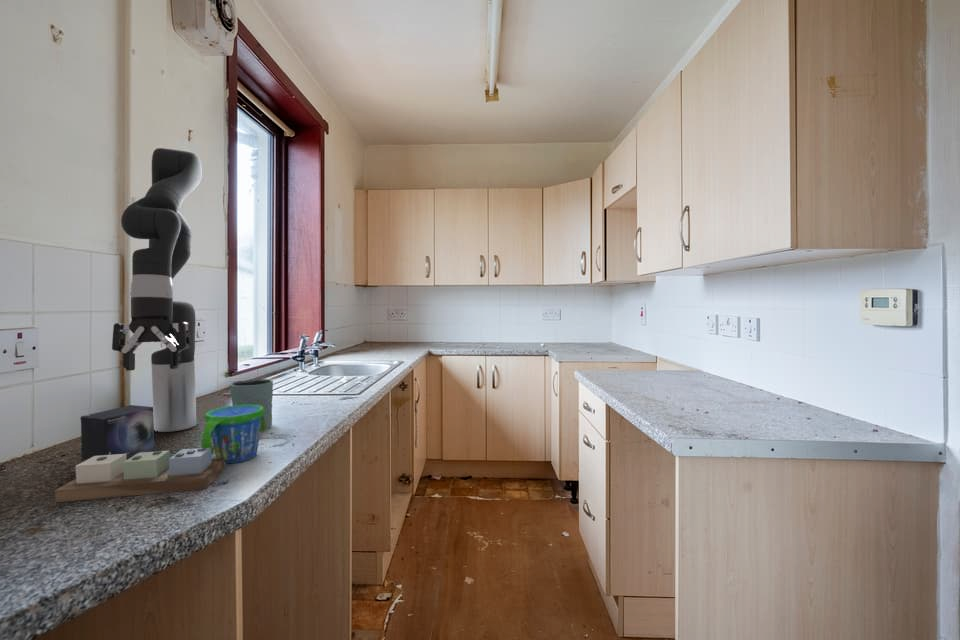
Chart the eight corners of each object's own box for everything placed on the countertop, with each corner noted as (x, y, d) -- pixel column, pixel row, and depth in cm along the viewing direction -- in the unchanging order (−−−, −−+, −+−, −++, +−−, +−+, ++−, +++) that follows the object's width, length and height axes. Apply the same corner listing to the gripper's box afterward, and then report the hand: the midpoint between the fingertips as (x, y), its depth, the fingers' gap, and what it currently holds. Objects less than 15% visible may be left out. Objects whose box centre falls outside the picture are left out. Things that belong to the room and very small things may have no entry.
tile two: (139, 471, 81) (138, 451, 81) (170, 469, 82) (169, 448, 82) (123, 482, 76) (123, 460, 76) (156, 479, 77) (155, 458, 77)
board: (94, 478, 81) (94, 468, 81) (225, 467, 86) (225, 457, 86) (55, 502, 72) (55, 490, 72) (205, 488, 76) (204, 477, 76)
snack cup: (224, 475, 83) (222, 421, 82) (182, 469, 86) (180, 417, 85) (284, 448, 97) (283, 403, 97) (247, 444, 101) (245, 400, 100)
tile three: (182, 468, 82) (181, 448, 82) (211, 465, 83) (211, 445, 83) (169, 478, 77) (168, 457, 77) (201, 475, 78) (200, 454, 78)
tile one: (95, 475, 79) (94, 454, 79) (127, 472, 80) (126, 451, 80) (76, 486, 74) (75, 464, 74) (110, 483, 75) (109, 461, 75)
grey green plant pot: (263, 432, 110) (261, 385, 109) (222, 433, 110) (220, 385, 109) (280, 422, 120) (279, 378, 119) (243, 422, 120) (242, 378, 119)
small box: (106, 471, 85) (104, 418, 85) (79, 469, 86) (77, 416, 86) (156, 453, 95) (154, 405, 95) (132, 451, 97) (130, 404, 96)
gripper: (194, 298, 103) (195, 367, 102) (125, 298, 100) (125, 369, 99) (180, 295, 96) (180, 369, 95) (104, 295, 93) (104, 372, 92)
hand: (152, 369), depth 97 cm, fingers open, 8 cm apart
